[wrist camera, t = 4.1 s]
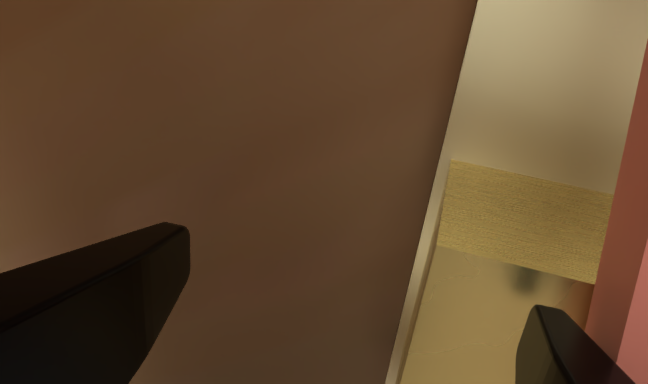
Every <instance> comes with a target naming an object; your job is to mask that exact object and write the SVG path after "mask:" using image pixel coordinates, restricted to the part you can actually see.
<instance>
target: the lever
mask: <svg viewBox="0 0 648 384" xmlns="http://www.w3.org/2000/svg"><path fill="white" fill-rule="evenodd" d="M585 333H586V334H587V335H588V336H589V337H590V338H591V339H592V340H593V341H594V342H595V343H596V344H597V345H598V346H599V347H600V348H601V349H602V350H603V351H604V352H605V353H606V354H607V355H608V356H609V357H610V358H611V359H612V360H613V361H614V362H615V363H616V364H617V365H618V366H619V367H620V368H621V369H622V370H623V371H624V372H625V373H626V374H627V375H628V376H629V377H630V378H631V379H632V380H633V381H634V382H635V383H636V384H648V39H647V44H646V49H645V53H644V58H643V63H642V67H641V72H640V77H639V81H638V86H637V91H636V95H635V100H634V105H633V109H632V114H631V118H630V123H629V128H628V132H627V137H626V142H625V146H624V151H623V156H622V160H621V165H620V170H619V174H618V179H617V184H616V188H615V193H614V198H613V202H612V207H611V212H610V216H609V221H608V226H607V230H606V235H605V240H604V244H603V249H602V254H601V258H600V263H599V268H598V272H597V277H596V281H595V286H594V291H593V295H592V300H591V305H590V309H589V314H588V319H587V323H586V328H585Z"/></svg>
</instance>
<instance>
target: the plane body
mask: <svg viewBox="0 0 648 384" xmlns="http://www.w3.org/2000/svg"><path fill="white" fill-rule="evenodd" d="M647 39H648V0H478V2H477V6H476V10H475V14H474V18H473V22H472V26H471V31H470V35H469V39H468V43H467V47H466V51H465V55H464V59H463V64H462V68H461V72H460V76H459V80H458V84H457V88H456V92H455V96H454V101H453V105H452V109H451V113H450V117H449V121H448V125H447V129H446V133H445V138H444V142H443V146H442V150H441V154H440V158H439V162H438V166H437V171H436V175H435V179H434V183H433V187H432V191H431V195H430V199H429V203H428V208H427V212H426V216H425V220H424V224H423V228H422V232H421V236H420V240H419V245H418V249H417V253H416V257H415V261H414V265H413V269H412V273H411V278H410V282H409V286H408V290H407V294H406V298H405V302H404V306H403V310H402V315H401V319H400V323H399V327H398V331H397V335H396V339H395V343H394V347H393V352H392V356H391V360H390V364H389V369H388V373H387V377H386V381H385V384H395V383H396V379H397V374H398V369H399V364H400V360H401V355H402V351H403V347H404V343H405V339H406V335H407V331H408V327H409V323H410V319H411V315H412V311H413V307H414V303H415V299H416V295H417V291H418V288H419V284H420V280H421V276H422V272H423V268H424V264H425V260H426V256H427V252H428V248H429V244H430V240H431V236H432V232H433V229H434V225H435V221H436V217H437V213H438V209H439V205H440V201H441V197H442V193H443V189H444V185H445V181H446V177H447V173H448V170H449V166H450V162H451V159H453V160H457V161H462V162H466V163H471V164H476V165H480V166H485V167H489V168H494V169H499V170H503V171H508V172H512V173H517V174H522V175H526V176H531V177H535V178H540V179H545V180H549V181H554V182H558V183H563V184H568V185H572V186H577V187H581V188H586V189H591V190H595V191H600V192H604V193H609V194H613V195H614V193H615V188H616V184H617V179H618V174H619V170H620V165H621V160H622V156H623V151H624V146H625V142H626V137H627V132H628V128H629V123H630V118H631V114H632V109H633V105H634V100H635V95H636V91H637V86H638V81H639V77H640V72H641V67H642V63H643V58H644V53H645V49H646V44H647Z"/></svg>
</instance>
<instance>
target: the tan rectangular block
mask: <svg viewBox="0 0 648 384" xmlns="http://www.w3.org/2000/svg"><path fill="white" fill-rule="evenodd" d="M613 198H614V195H613V194H609V193H604V192H600V191H595V190H591V189H586V188H581V187H577V186H572V185H568V184H563V183H558V182H554V181H549V180H545V179H540V178H535V177H531V176H526V175H522V174H517V173H512V172H508V171H503V170H499V169H494V168H489V167H485V166H480V165H476V164H471V163H466V162H462V161H457V160H453V159H451V162H450V166H449V170H448V173H447V177H446V181H445V185H444V189H443V193H442V197H441V201H440V205H439V209H438V213H437V217H436V221H435V225H434V229H433V232H432V236H431V240H430V244H429V248H428V252H427V256H426V260H425V264H424V268H423V272H422V276H421V280H420V284H419V288H418V291H417V295H416V299H415V303H414V307H413V311H412V315H411V319H410V323H409V327H408V331H407V335H406V339H405V343H404V347H403V351H402V355H401V360H400V364H399V369H398V374H397V379H396V383H395V384H515V362H516V352H517V347H518V344H519V341H520V338H521V335H522V332H523V330H524V327H525V324H526V321H527V318H528V315H529V312H530V310H531V308H532V307H533V306H534V305H537V304H539V305H544V306H548V307H553V308H558V309H561V310H563V311H564V312H566V313H567V314H568V315H569V316H570V317H571V318H572V319H573V320H574V321H575V322H576V323H577V324H578V325H579V327H580V328H581V329H582V330H583V331H584V332H585V328H586V323H587V319H588V314H589V309H590V305H591V300H592V295H593V291H594V286H595V281H596V277H597V272H598V268H599V263H600V258H601V254H602V249H603V244H604V240H605V235H606V230H607V226H608V221H609V216H610V212H611V207H612V202H613Z"/></svg>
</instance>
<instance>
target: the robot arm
mask: <svg viewBox="0 0 648 384" xmlns="http://www.w3.org/2000/svg"><path fill="white" fill-rule="evenodd" d="M189 274H190V234H189V230H188V229H187V228H186V227H185V226H182V225H177V224H173V223H168V222H162V223H159V224H156V225H153V226H149V227H146V228H143V229H140V230H137V231H133V232H130V233H127V234H124V235H121V236H118V237H114V238H111V239H108V240H105V241H102V242H99V243H95V244H92V245H89V246H86V247H83V248H79V249H76V250H73V251H70V252H67V253H64V254H60V255H57V256H54V257H51V258H48V259H44V260H41V261H38V262H35V263H32V264H29V265H25V266H22V267H19V268H16V269H13V270H10V271H6V272H3V273H0V384H128V383H129V382H130V380H131V379H132V378H133V376H134V375H135V373H136V372H137V370H138V369H139V367H140V366H141V364H142V363H143V361H144V360H145V358H146V357H147V355H148V353H149V351H150V350H151V348H152V346H153V344H154V343H155V341H156V339H157V337H158V335H159V333H160V331H161V329H162V328H163V326H164V324H165V322H166V320H167V318H168V316H169V314H170V313H171V311H172V309H173V307H174V305H175V303H176V301H177V299H178V298H179V296H180V294H181V292H182V290H183V288H184V286H185V284H186V282H187V280H188V277H189ZM515 384H636V383H635V382H634V381H633V380H632V379H631V378H630V377H629V376H628V375H627V374H626V373H625V372H624V371H623V370H622V369H621V368H620V367H619V366H618V365H617V364H616V363H615V362H614V361H613V360H612V359H611V358H610V357H609V356H608V355H607V354H606V353H605V352H604V351H603V350H602V349H601V348H600V347H599V346H598V345H597V344H596V343H595V342H594V341H593V340H592V339H591V338H590V337H589V336H588V335H587V334H586V333H585V332H584V331H583V330H582V329H581V328H580V327H579V325H578V324H577V323H576V322H575V321H574V320H573V319H572V318H571V317H570V316H569V315H568V314H567V313H566V312H564V311H563V310H561V309H558V308H553V307H548V306H544V305H539V304H537V305H534V306H533V307H532V308H531V310H530V312H529V315H528V318H527V321H526V324H525V327H524V330H523V332H522V335H521V338H520V341H519V344H518V347H517V352H516V362H515Z"/></svg>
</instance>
